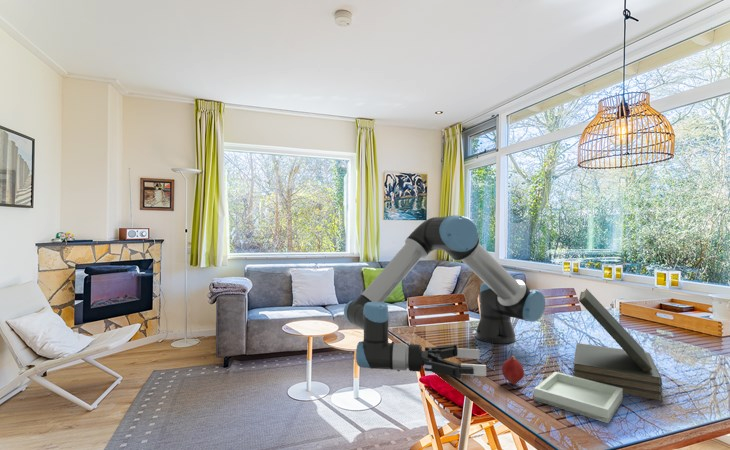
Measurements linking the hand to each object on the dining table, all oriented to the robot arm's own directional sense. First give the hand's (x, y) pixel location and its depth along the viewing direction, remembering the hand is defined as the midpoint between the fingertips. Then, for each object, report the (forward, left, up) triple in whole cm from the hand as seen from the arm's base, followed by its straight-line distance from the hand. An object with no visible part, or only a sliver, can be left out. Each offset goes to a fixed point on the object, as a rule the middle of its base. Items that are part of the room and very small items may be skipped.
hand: (482, 361), depth 103 cm
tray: (+23, +7, -6) cm, 24 cm away
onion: (+7, +5, -6) cm, 10 cm away
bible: (+26, +31, -6) cm, 40 cm away
